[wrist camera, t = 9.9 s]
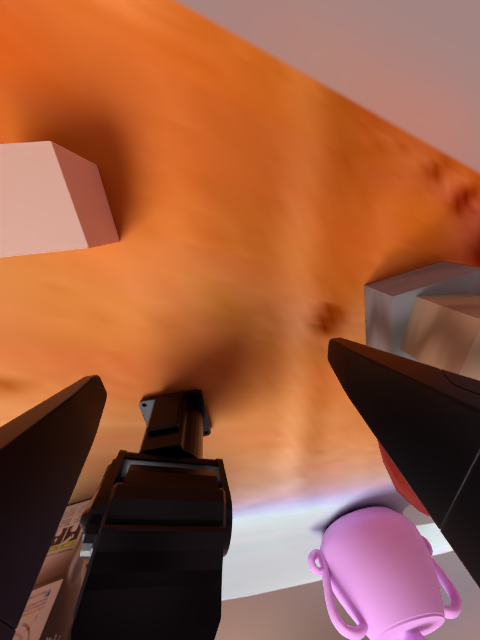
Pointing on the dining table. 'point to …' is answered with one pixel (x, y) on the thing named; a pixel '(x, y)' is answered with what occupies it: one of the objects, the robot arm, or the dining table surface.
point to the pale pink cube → (51, 201)
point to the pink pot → (382, 577)
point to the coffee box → (57, 583)
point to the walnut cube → (445, 333)
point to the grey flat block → (410, 300)
